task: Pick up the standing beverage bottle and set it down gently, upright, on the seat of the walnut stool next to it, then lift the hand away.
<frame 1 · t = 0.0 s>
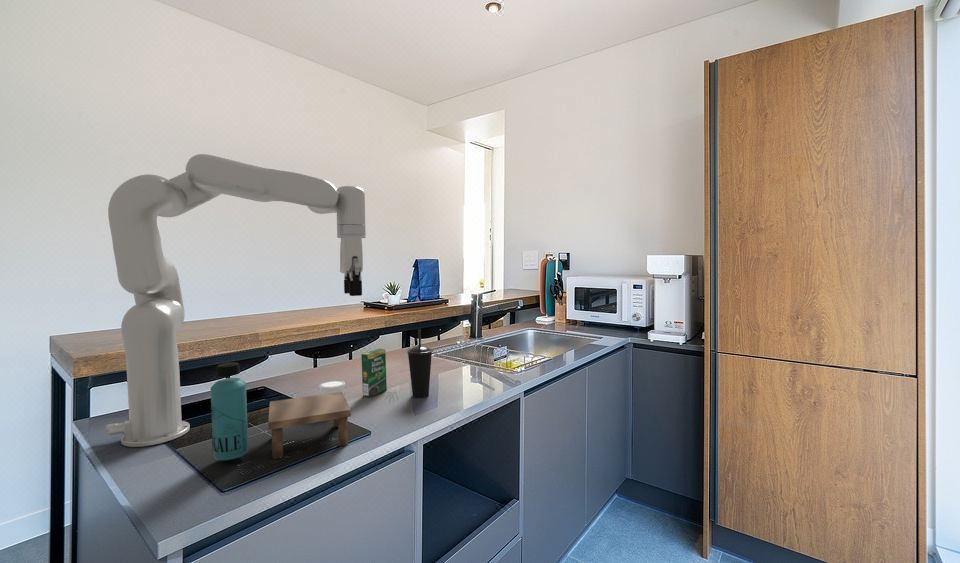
hand: (352, 294, 115), 31 cm above the worktop, tool pointing down, fingers open, 9 cm apart
beverage bottle: (231, 461, 84), on the worktop
coffee box: (374, 394, 126), on the worktop
walnut stool: (310, 440, 93), on the worktop
drinking cup: (420, 395, 124), on the worktop
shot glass: (333, 409, 114), on the worktop
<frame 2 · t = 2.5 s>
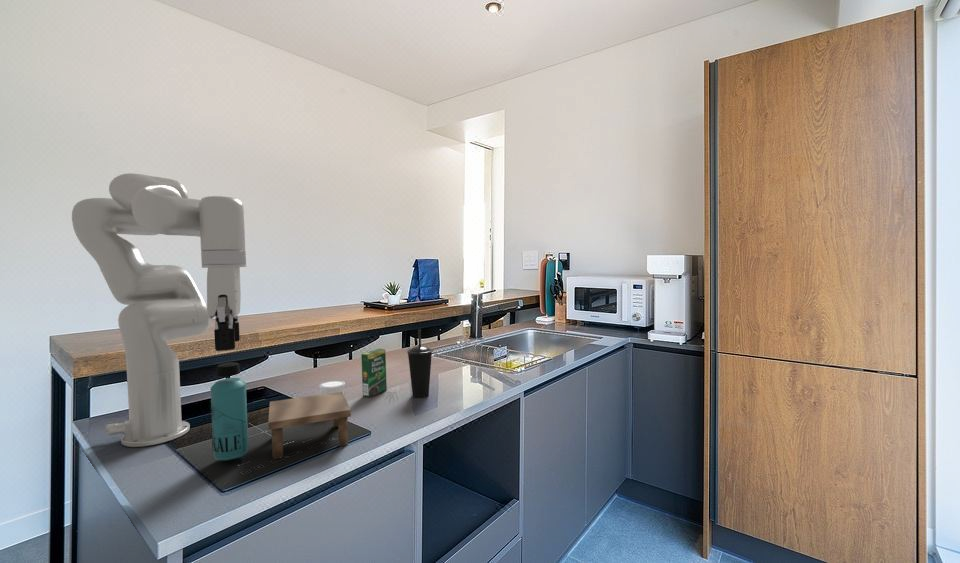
hand: (228, 345, 83), 24 cm above the worktop, tool pointing down, fingers open, 9 cm apart
nothing on the worktop moved.
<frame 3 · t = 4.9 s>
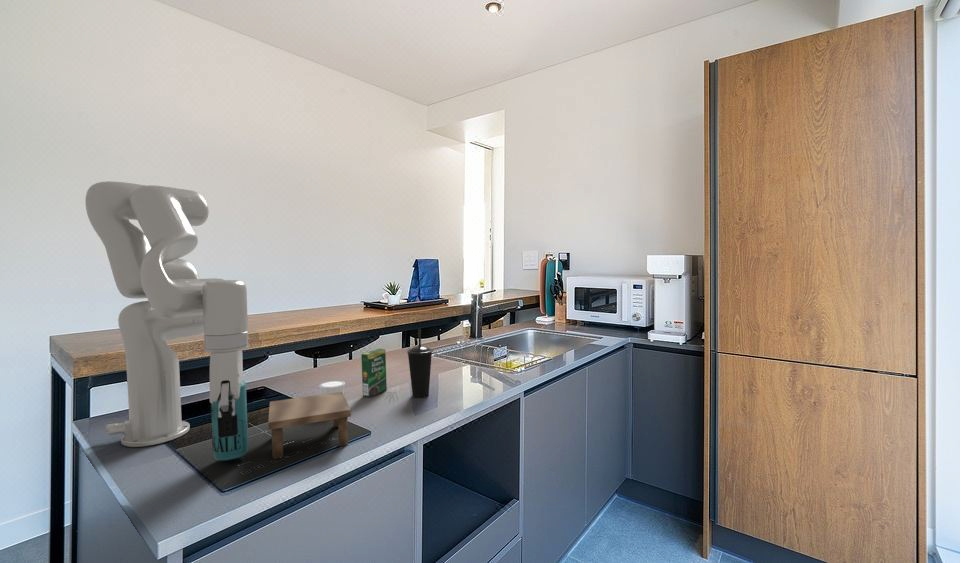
hand: (230, 428, 84), 7 cm above the worktop, tool pointing down, fingers closed on beverage bottle, 6 cm apart
beverage bottle: (231, 461, 84), on the worktop, touching gripper
everything else where it was.
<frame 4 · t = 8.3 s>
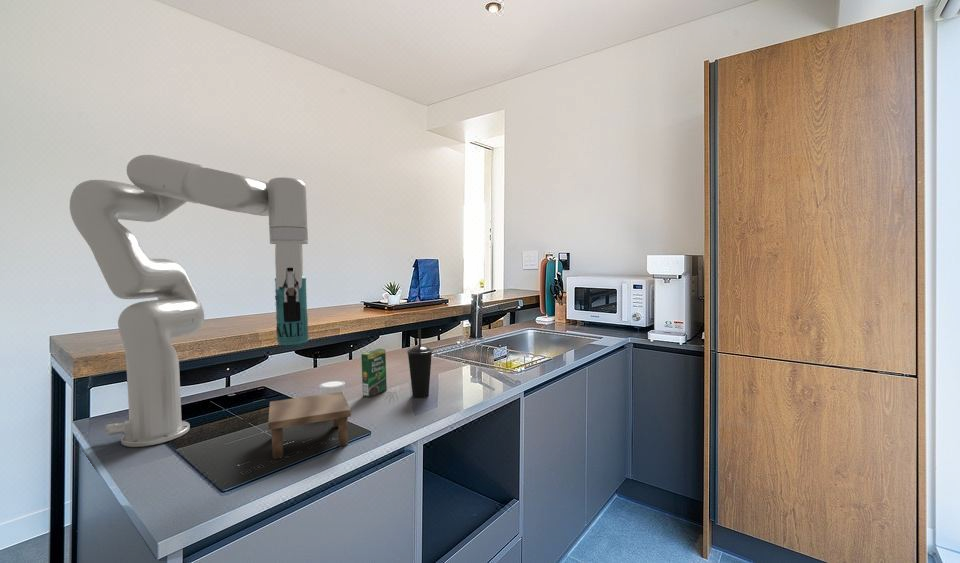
hand: (292, 318, 90), 28 cm above the worktop, tool pointing down, fingers closed on beverage bottle, 6 cm apart
beverage bottle: (293, 350, 90), point 21 cm above the worktop, touching gripper
everything else where it was.
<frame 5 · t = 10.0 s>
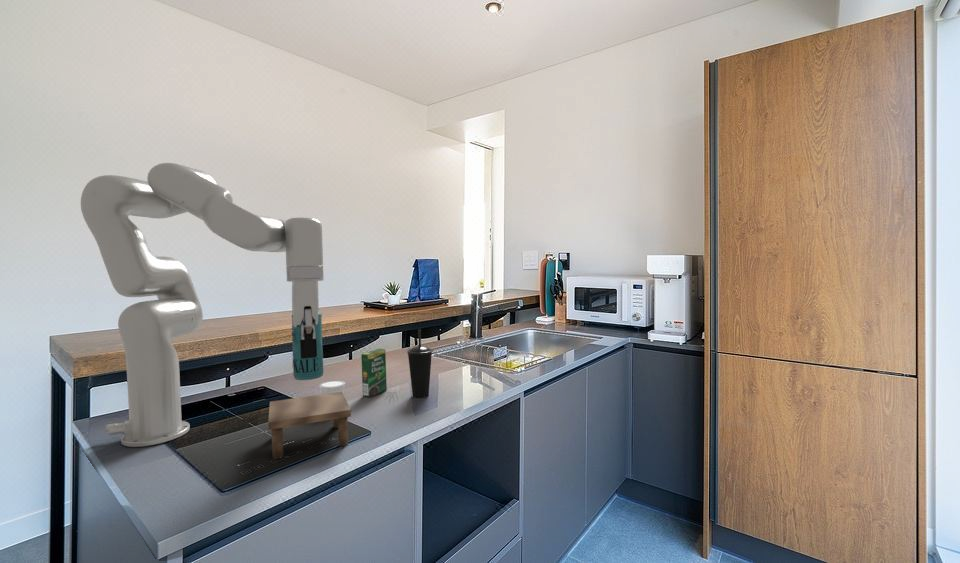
hand: (307, 353, 92), 20 cm above the worktop, tool pointing down, fingers closed on beverage bottle, 6 cm apart
beverage bottle: (309, 383, 93), point 13 cm above the worktop, touching gripper
everything else where it was.
when the fingers open (16 cm above the worktop, at t = 11.6 s): beverage bottle drops 1 cm, resting on walnut stool.
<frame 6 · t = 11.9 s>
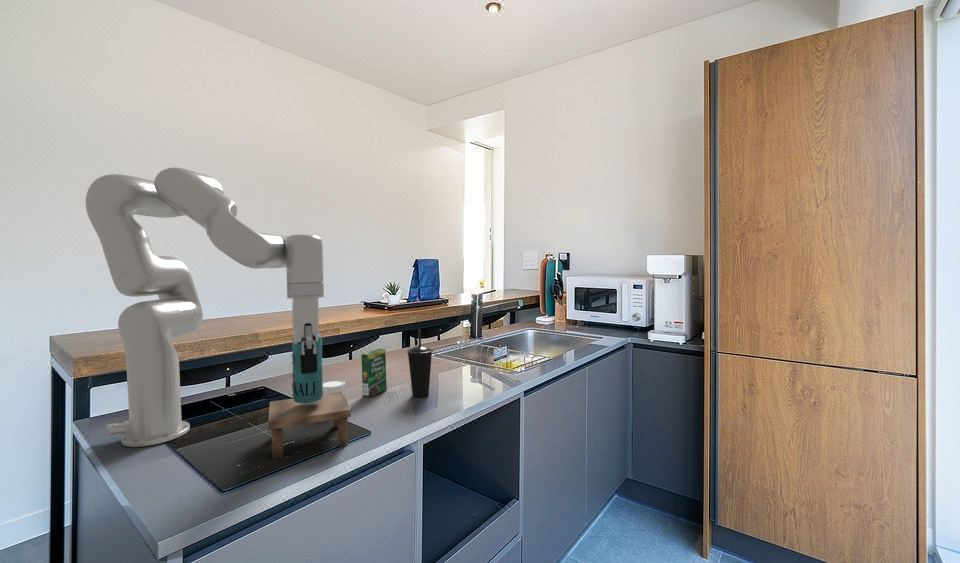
hand: (307, 367, 93), 17 cm above the worktop, tool pointing down, fingers open, 8 cm apart
beverage bottle: (308, 406, 93), point 8 cm above the worktop, touching walnut stool
everything else where it was.
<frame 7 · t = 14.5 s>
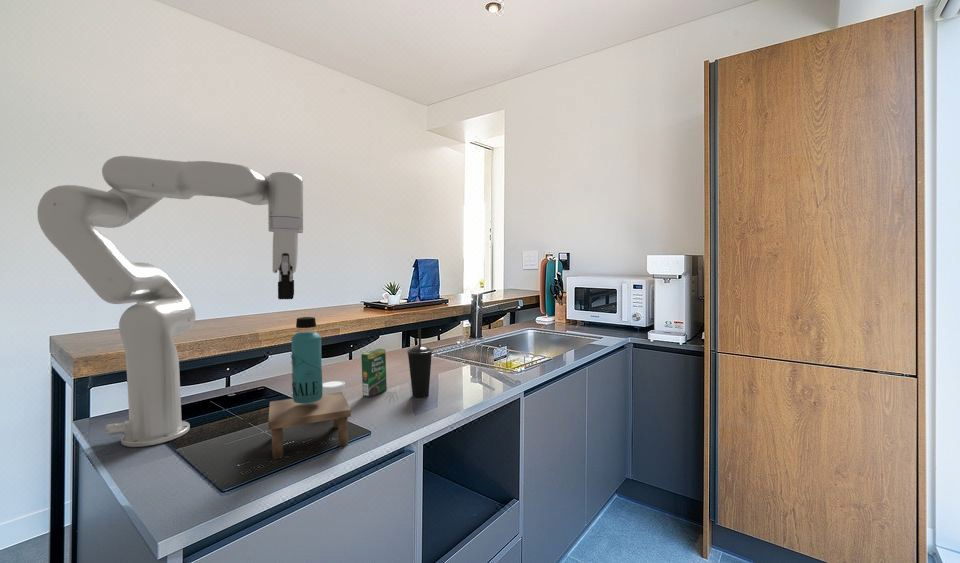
hand: (286, 297, 100), 32 cm above the worktop, tool pointing down, fingers open, 9 cm apart
nothing on the worktop moved.
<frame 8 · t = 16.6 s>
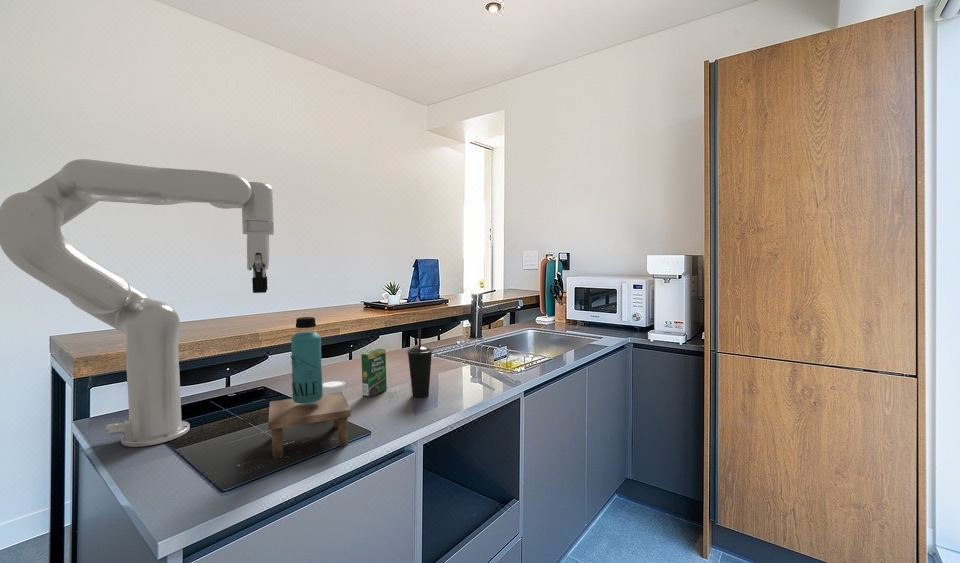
hand: (260, 291, 114), 32 cm above the worktop, tool pointing down, fingers open, 9 cm apart
nothing on the worktop moved.
at the end: beverage bottle inside the target area on the walnut stool (0.2 cm from its centre), point 7.8 cm above the walnut stool's base; beverage bottle tilted 0°; the gripper is holding nothing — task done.
